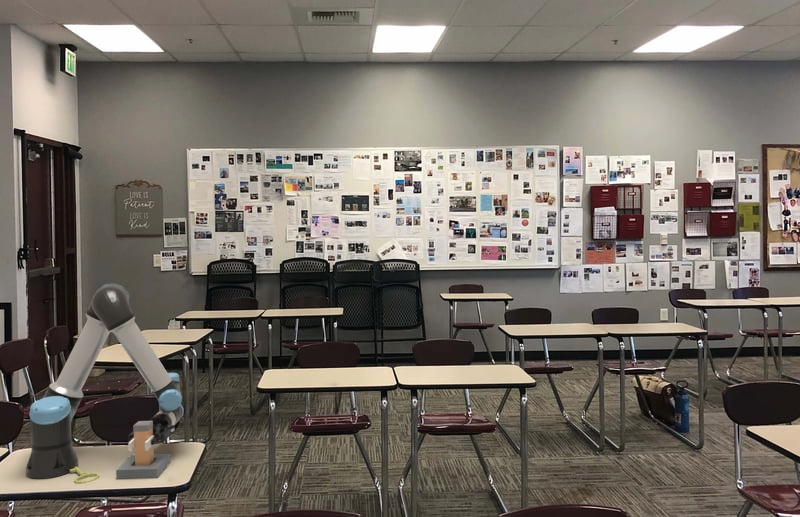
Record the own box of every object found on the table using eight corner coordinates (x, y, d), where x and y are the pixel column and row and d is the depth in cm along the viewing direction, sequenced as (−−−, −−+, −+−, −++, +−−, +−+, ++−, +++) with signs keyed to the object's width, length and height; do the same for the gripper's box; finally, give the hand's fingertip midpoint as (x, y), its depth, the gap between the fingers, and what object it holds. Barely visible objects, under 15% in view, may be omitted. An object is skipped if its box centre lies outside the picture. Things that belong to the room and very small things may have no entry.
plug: (134, 467, 201) (133, 425, 200) (140, 462, 206) (138, 421, 205) (149, 467, 201) (147, 425, 200) (154, 461, 206) (152, 420, 205)
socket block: (116, 479, 196) (116, 470, 196) (131, 463, 209) (131, 455, 209) (157, 477, 197) (157, 468, 197) (170, 462, 210) (170, 453, 210)
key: (76, 471, 204) (76, 465, 204) (102, 478, 199) (102, 471, 199) (56, 480, 197) (56, 473, 197) (82, 486, 192) (82, 480, 192)
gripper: (186, 432, 221) (165, 457, 198) (137, 434, 220) (110, 459, 197) (186, 412, 221) (165, 434, 198) (136, 414, 220) (109, 436, 197)
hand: (137, 446), depth 198 cm, fingers closed on plug, 4 cm apart
